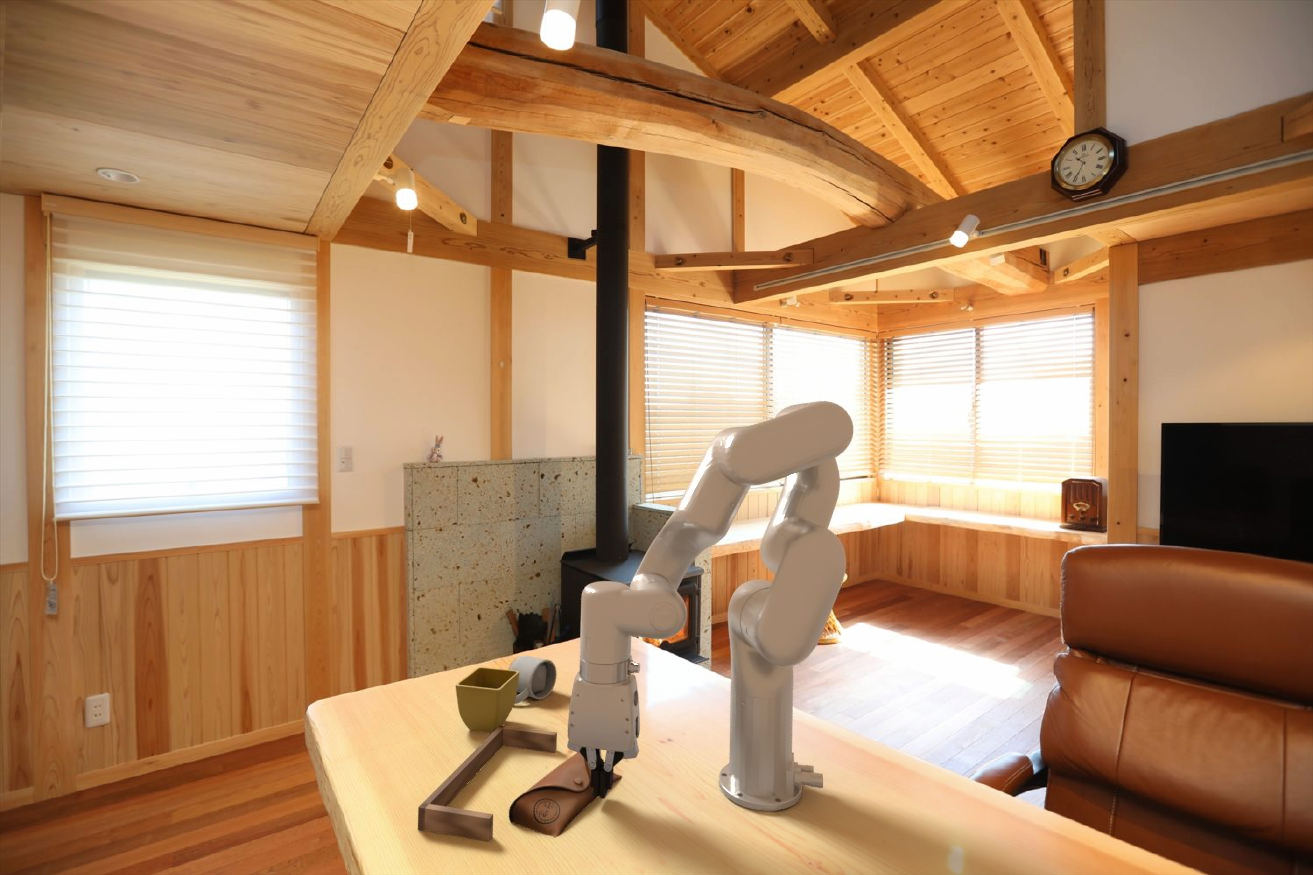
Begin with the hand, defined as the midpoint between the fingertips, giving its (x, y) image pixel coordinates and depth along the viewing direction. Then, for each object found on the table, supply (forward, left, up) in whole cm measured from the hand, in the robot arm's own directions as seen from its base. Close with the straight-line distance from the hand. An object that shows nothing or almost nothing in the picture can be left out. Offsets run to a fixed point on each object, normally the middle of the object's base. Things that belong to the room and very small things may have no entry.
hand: (601, 792), depth 87 cm
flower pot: (+27, -17, -2) cm, 32 cm away
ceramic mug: (+26, -31, -2) cm, 40 cm away
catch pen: (+17, 0, -1) cm, 17 cm away
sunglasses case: (+5, 0, -2) cm, 5 cm away
